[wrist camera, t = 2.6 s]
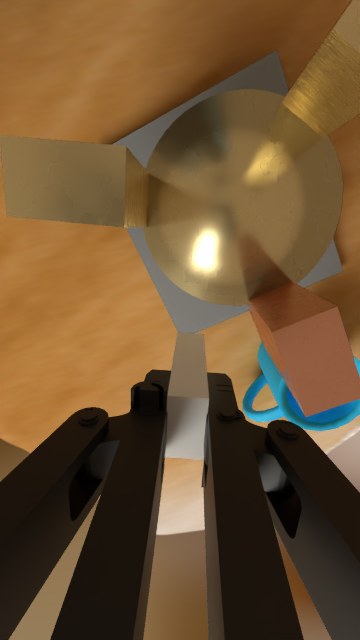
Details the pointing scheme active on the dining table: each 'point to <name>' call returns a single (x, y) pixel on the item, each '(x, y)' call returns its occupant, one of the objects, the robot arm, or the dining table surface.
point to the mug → (293, 401)
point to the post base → (179, 304)
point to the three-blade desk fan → (228, 206)
